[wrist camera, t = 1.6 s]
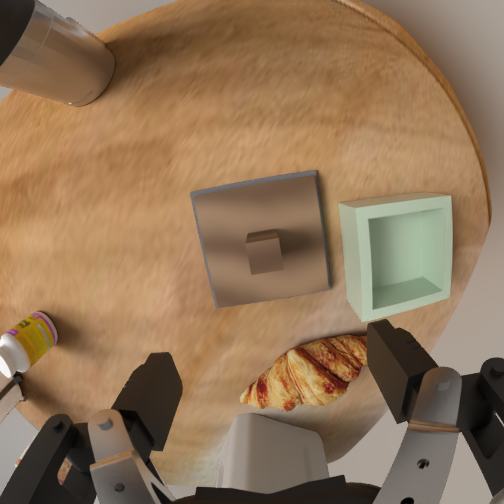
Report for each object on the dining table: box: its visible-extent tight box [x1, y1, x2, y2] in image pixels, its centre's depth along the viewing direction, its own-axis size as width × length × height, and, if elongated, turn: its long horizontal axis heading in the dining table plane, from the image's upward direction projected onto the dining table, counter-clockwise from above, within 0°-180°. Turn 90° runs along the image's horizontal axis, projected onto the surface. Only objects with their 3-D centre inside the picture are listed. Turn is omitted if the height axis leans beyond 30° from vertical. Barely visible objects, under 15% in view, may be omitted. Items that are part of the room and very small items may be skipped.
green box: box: [338, 192, 453, 322], centre depth 28 cm, size 12×12×6 cm
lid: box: [193, 175, 329, 308], centre depth 28 cm, size 13×13×6 cm
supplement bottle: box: [0, 312, 58, 378], centre depth 29 cm, size 7×7×13 cm
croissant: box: [240, 335, 368, 412], centre depth 33 cm, size 21×10×8 cm, turn 121°
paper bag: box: [215, 413, 330, 494], centre depth 26 cm, size 19×15×28 cm
